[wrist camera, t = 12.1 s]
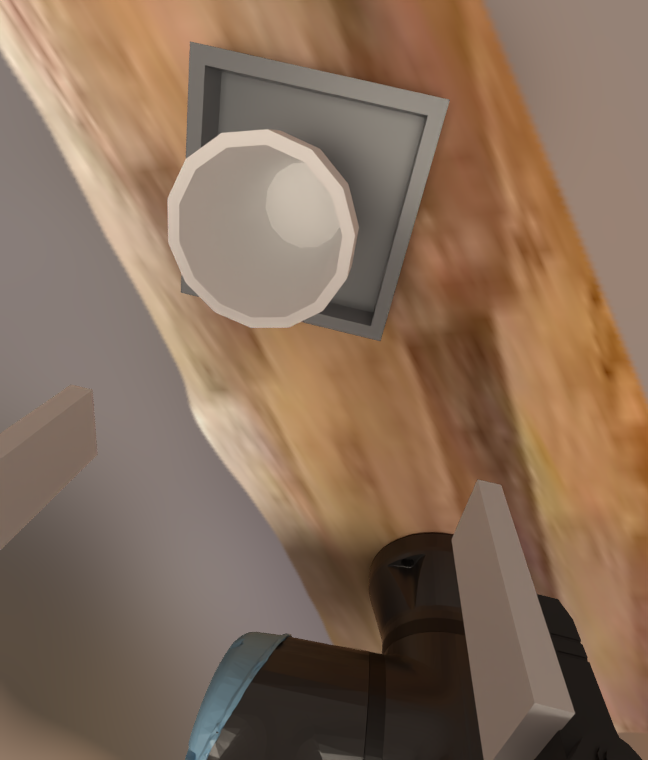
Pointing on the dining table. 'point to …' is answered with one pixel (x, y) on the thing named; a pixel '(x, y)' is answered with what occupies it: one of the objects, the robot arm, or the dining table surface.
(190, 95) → the tray
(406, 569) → the robot arm
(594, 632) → the dining table surface
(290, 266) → the foam cup
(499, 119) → the dining table surface
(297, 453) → the dining table surface
